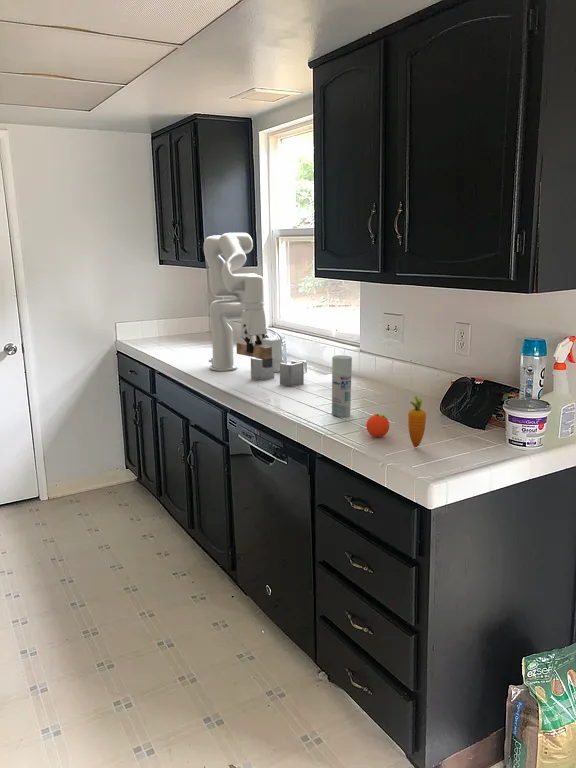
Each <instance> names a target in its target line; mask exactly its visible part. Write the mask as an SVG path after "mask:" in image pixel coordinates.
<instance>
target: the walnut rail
mask: <svg viewBox="0 0 576 768" xmlns="http://www.w3.org/2000/svg"><path fill="white" fill-rule="evenodd" d="M236 354H237V355H241V356H245V357H251V358H261V359H269V358H272V347H270V346H264V345H258V344H255V343H253V353H248V352H247V343H246V342H245V341H240V342H236Z"/></svg>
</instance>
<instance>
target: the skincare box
mask: <svg viewBox="0 0 576 768" xmlns="http://www.w3.org/2000/svg"><path fill="white" fill-rule="evenodd" d="M262 345H264V346H270V347H272V357H274V373H277V372H278V373H280V372H279V371H280V363H283V348H282V338H277V337H266V338H265V337H264V338H263V341H262Z"/></svg>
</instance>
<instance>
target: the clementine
mask: <svg viewBox="0 0 576 768" xmlns="http://www.w3.org/2000/svg"><path fill="white" fill-rule="evenodd" d="M388 418H389V419H388ZM389 420H392V419H391V417H389V416H388V415H385V414H379V413H377V414H376V413H375V414H373V415H371V416H370V417H369V418H368V419H367V421H366V424H365V427H366V431H367V432H368V434H369V435H370V436H372V437H374V438H382V437H384V436H386V435H387V434H388V432H389V431H390V421H389Z"/></svg>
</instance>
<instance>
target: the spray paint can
mask: <svg viewBox="0 0 576 768" xmlns="http://www.w3.org/2000/svg"><path fill="white" fill-rule="evenodd" d="M331 362H332V363H331V364H332V365H331V369H332V371H331V373H332V375H331V378H332V379H331V380H332V381H331V415H332V416H333V417H335V416H336V418H347V417H348V418H349V417H350V416H351V402H352V401H351V400H352V399H351V398H352V367H353V364H352V363H353V357H352V356H349V355H342V354H341V355H334V356H332V361H331Z"/></svg>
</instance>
